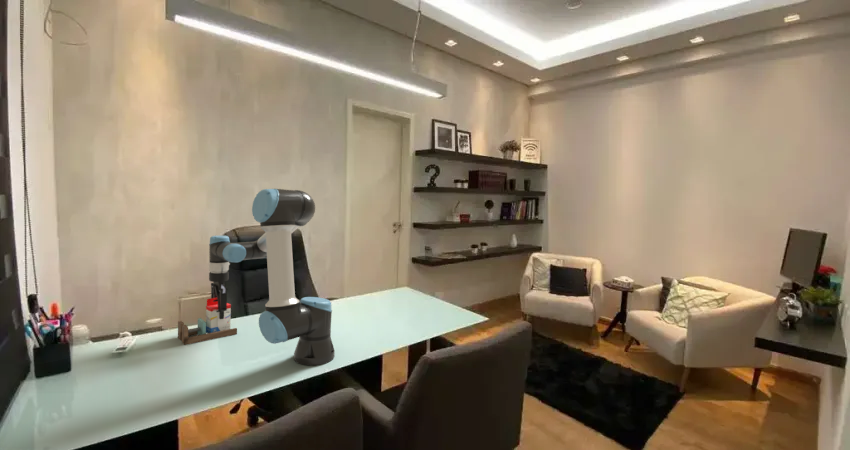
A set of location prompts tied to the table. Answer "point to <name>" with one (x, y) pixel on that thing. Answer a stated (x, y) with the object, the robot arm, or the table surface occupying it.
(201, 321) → the pusher
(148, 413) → the table surface
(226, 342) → the table surface
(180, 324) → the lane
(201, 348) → the table surface
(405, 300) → the table surface
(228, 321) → the ink box
